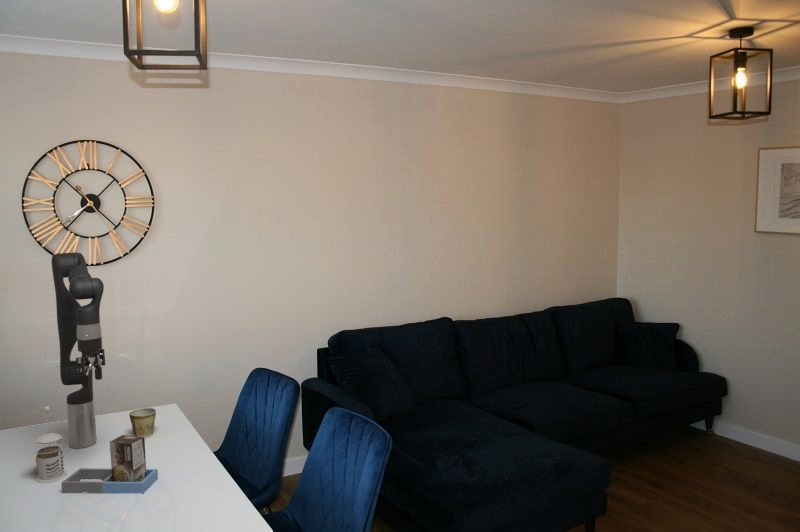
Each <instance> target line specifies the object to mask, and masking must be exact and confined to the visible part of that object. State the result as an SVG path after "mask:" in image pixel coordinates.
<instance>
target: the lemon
mask: <svg viewBox="0 0 800 532" xmlns="http://www.w3.org/2000/svg"><path fill="white" fill-rule="evenodd" d="M37 455H38V452H37V453H36V456H35V464H36V465H37V464H38V463H37ZM45 456H51V455H43V456H41V457H40V459H41V458H43V457H45ZM45 459H47V458H45ZM46 466H48V467H50V466H52V465H46Z"/></svg>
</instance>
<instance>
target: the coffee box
mask: <svg viewBox="0 0 800 532" xmlns="http://www.w3.org/2000/svg"><path fill="white" fill-rule="evenodd" d="M145 439H146V438H145V437H138V436H134V435H127V434H126V435H125V434H122V435H120V436H118V437H116V438H114V439H113V440H110V441H109V451H110V452H109V453H110V465H111V468H110V469H112V482H142V481H143V480H144V479H145V478H146V477H147V475H146V469H147V462H146V461H147V460H146V445H145V444H146V443H145Z"/></svg>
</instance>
